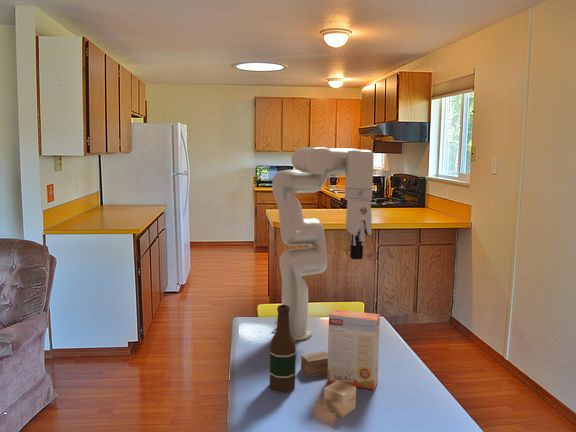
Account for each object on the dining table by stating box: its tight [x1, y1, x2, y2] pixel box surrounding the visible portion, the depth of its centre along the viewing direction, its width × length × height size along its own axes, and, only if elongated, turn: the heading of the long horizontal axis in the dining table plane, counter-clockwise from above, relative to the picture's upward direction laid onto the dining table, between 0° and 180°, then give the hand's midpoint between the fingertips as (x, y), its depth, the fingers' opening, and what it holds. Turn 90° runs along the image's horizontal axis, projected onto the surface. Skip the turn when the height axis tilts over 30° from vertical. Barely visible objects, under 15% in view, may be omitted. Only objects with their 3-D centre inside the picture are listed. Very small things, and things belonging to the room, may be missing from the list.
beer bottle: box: [269, 304, 297, 393], centre depth 141 cm, size 8×8×24 cm
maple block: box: [323, 380, 357, 418], centre depth 131 cm, size 6×6×6 cm
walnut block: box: [300, 350, 328, 378], centre depth 153 cm, size 5×8×5 cm, turn 113°
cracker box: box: [327, 308, 381, 391], centre depth 145 cm, size 14×6×21 cm, turn 70°
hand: (356, 258), depth 142 cm, fingers closed
